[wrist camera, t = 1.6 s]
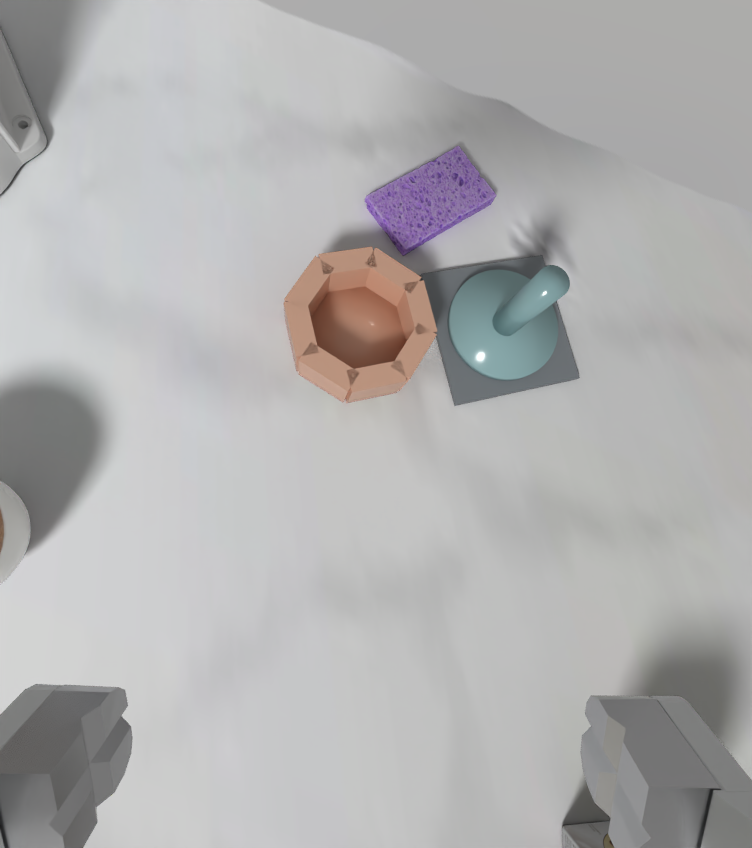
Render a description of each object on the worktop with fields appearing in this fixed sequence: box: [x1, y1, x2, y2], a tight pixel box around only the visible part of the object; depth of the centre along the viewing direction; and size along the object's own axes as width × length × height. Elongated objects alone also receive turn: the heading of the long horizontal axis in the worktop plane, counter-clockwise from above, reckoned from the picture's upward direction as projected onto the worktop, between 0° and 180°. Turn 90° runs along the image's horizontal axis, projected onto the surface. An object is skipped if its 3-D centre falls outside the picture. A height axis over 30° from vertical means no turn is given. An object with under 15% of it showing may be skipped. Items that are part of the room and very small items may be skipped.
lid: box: [447, 265, 570, 381], centre depth 42 cm, size 12×12×10 cm
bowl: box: [284, 247, 437, 403], centre depth 42 cm, size 13×13×4 cm
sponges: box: [365, 146, 496, 255], centre depth 48 cm, size 7×13×2 cm, turn 125°
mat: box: [420, 255, 580, 406], centre depth 47 cm, size 14×14×1 cm
